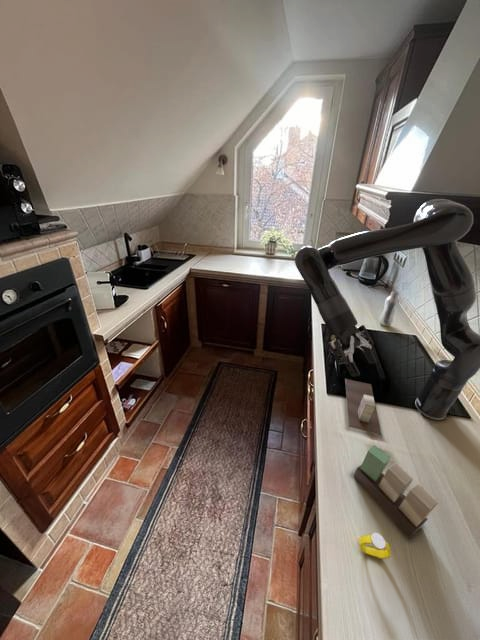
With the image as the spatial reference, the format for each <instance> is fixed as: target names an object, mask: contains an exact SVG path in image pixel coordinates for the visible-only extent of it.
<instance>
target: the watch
mask: <svg viewBox="0 0 480 640" xmlns="http://www.w3.org/2000/svg"><path fill="white" fill-rule="evenodd" d="M358 542H359V548H360V550H361V552H363V553H364V554H366V555H368V556H372V557H373V558H374V557H375V558H377V559H383V560H384V559H385V560H386V559H389V558H390V557H391V556H392V552H391V546H390V544H389V543H388V542H387V541H386V540H385V538H384V537H383V536H382V534H380V533H378V532H373V533H371V535H368V534H367V535H363V536H360V538H359V540H358ZM367 544H370V545H372V546H373V547H374V548H373V547H370V546H367Z"/></svg>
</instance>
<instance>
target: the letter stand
mask: <svg viewBox="0 0 480 640" xmlns="http://www.w3.org/2000/svg"><path fill="white" fill-rule="evenodd" d="M360 467H361V465H359V466H357V467H356V470H355V472H354V474H353V478H355V479H356V480H357V481H358V483H359V484H360V485H361V486H362V487H363V488H364V490H365V491H366V492H367V493H368V494H369V495H370V496H371V497H372V499H373V500H374V501H375V502H376V503H377V504H378V505H379V507H380V508H381V509H382V510H383V511H384V512H385V513H386V514H387V516H388V517H389V518H390V519H391V520H392V522H393V523H395V525H396V526H397V527H398V528H399V529H400V530H401V531H402V533H403V534H404V535H405V536H406V537H407V538H408V539H410V538H412V536H414V535H415V534H416V533H417V532H418V531H419V530H420V529H421V528H422V527H423V526H424V524H426V522H427V521H428V516H429V515H430V514H431V512H433V510H434V509H435V508H436V506H438V504H439V502H438V501H437V500H436V499H435V498H434V497H432V495H431V494H430V493H428V492H427V491H426V490H425V489H424V488H423V487H422V486H421V485H420V484H419V483H417V484H416V485H414V486H413V487H412V488H411V489H410V490H409V491H408V493H407V494H406V495H405V492H406V491H407V490H408V488H409V487H410V485H411V483H412V482H413V480H414V478H413V477H412V476H410V475H409V474H408V473H407V472H406V471H405V470H404V469H403V468H402V467H401V466H400V465H399V464H398V463H396V462H395V463H393V464H392V465H390V466H389V467H387V470H386V472H385V474H384V473H383V472H382V474H381V476H380V477H379V478H378V480H377V481H376V482H375V481H374V480H373V479H372V478H371V477H369V476H368V475H367V474H366V473H365V472H364V471H362V470H361V469H360Z"/></svg>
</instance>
